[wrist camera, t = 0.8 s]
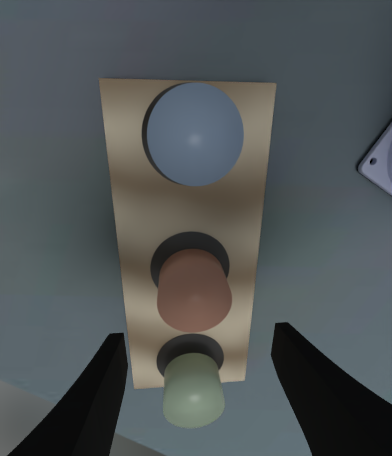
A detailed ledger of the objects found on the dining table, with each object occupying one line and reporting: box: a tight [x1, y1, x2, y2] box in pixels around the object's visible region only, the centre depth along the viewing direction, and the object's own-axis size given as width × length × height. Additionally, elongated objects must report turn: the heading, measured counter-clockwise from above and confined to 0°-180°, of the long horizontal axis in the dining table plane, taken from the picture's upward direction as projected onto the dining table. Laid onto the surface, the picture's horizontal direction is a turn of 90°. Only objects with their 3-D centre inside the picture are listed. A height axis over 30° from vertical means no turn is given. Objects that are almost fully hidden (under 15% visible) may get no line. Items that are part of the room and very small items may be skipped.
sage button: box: [163, 353, 225, 428], centre depth 19 cm, size 4×4×3 cm
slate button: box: [147, 82, 244, 186], centre depth 12 cm, size 4×4×3 cm
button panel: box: [99, 78, 276, 389], centre depth 19 cm, size 24×10×2 cm, turn 179°
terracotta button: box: [157, 249, 232, 333], centre depth 16 cm, size 4×4×3 cm
